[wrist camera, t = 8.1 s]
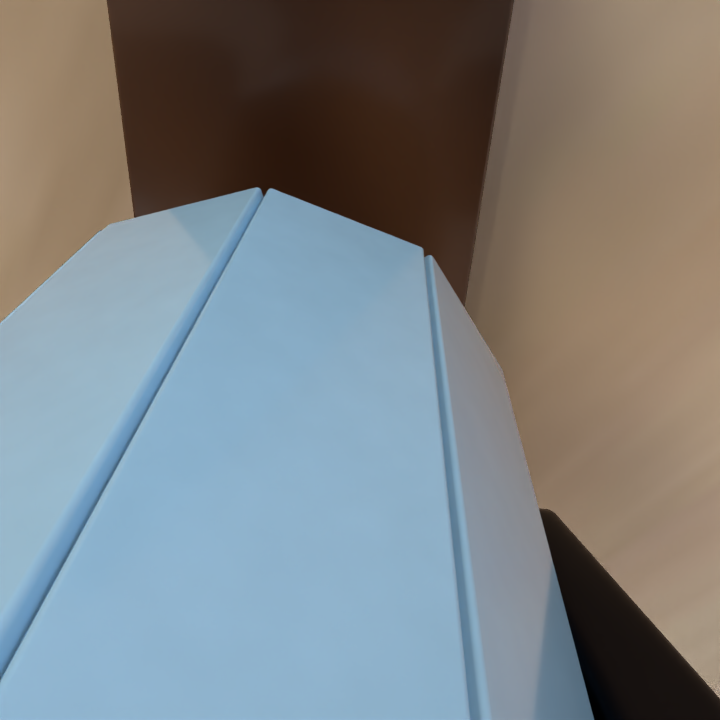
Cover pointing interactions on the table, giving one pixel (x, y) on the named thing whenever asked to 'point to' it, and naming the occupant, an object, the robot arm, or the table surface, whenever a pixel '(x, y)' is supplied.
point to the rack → (317, 108)
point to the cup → (267, 485)
